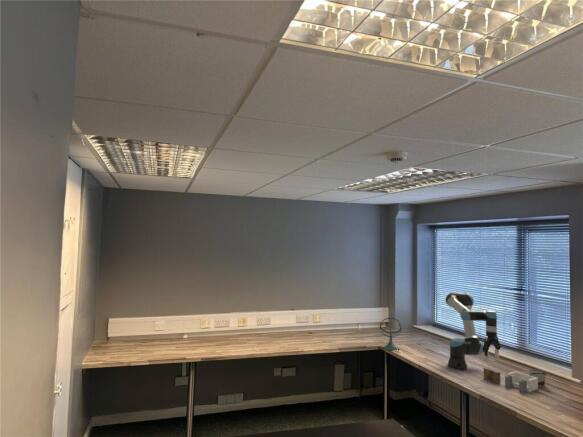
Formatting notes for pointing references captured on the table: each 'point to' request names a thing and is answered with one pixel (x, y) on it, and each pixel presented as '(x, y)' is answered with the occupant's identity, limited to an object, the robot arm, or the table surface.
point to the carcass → (521, 381)
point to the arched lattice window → (538, 376)
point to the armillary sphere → (390, 345)
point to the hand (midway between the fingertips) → (491, 359)
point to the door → (492, 375)
